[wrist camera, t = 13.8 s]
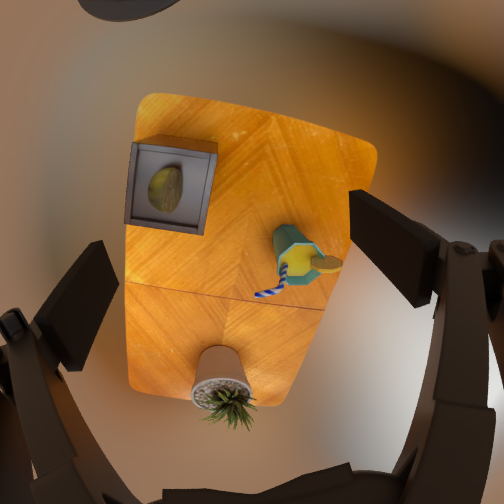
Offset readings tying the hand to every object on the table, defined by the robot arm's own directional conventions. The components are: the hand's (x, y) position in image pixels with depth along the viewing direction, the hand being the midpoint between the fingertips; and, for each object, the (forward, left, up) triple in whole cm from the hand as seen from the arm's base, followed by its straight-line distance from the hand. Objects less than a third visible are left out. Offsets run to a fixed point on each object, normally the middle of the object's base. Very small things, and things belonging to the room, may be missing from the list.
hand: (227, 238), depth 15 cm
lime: (+1, -6, -21) cm, 22 cm away
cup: (+17, +8, -35) cm, 40 cm away
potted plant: (+44, -9, -35) cm, 57 cm away
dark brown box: (+1, -6, -35) cm, 35 cm away
